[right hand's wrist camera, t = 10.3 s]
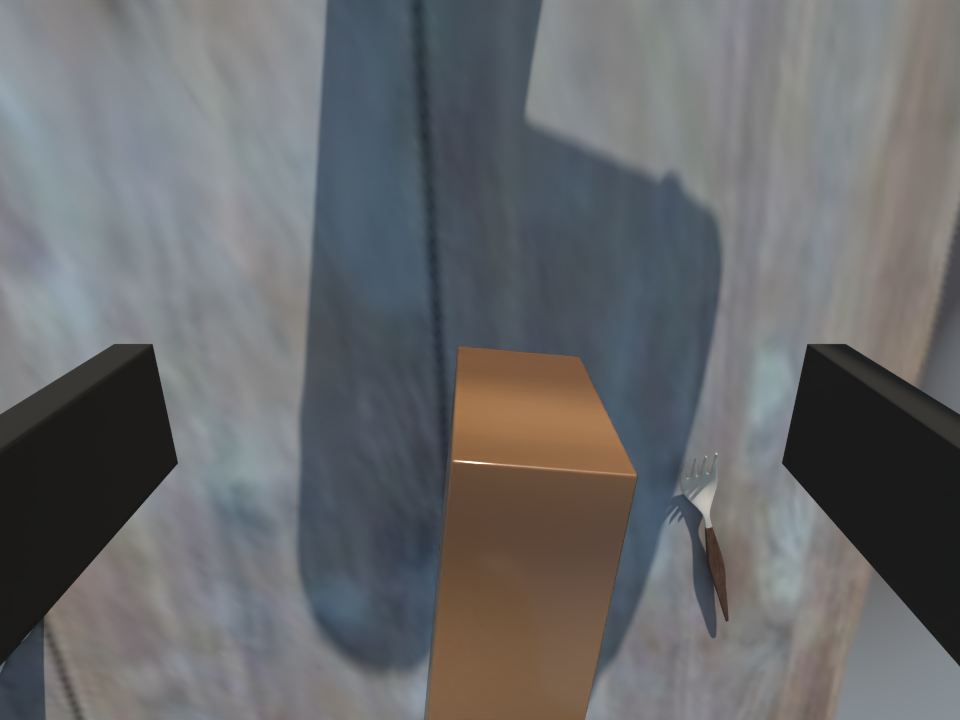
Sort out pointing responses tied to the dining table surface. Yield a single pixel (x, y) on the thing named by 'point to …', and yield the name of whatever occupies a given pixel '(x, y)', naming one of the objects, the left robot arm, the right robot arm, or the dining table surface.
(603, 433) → the bar
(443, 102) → the dining table surface
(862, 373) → the right robot arm
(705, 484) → the fork
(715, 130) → the dining table surface
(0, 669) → the left robot arm
